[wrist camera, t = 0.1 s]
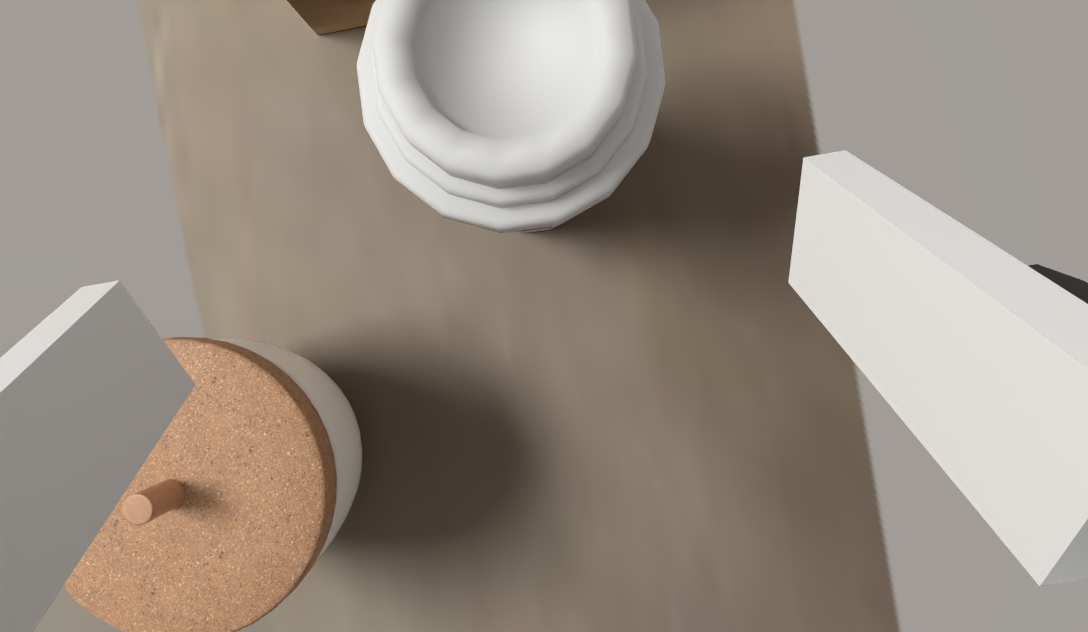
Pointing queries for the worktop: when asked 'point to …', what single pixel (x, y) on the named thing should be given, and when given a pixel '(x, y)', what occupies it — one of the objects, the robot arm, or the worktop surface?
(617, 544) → the worktop surface
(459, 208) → the coffee cup
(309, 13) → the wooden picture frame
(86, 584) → the lidded jar
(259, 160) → the worktop surface
